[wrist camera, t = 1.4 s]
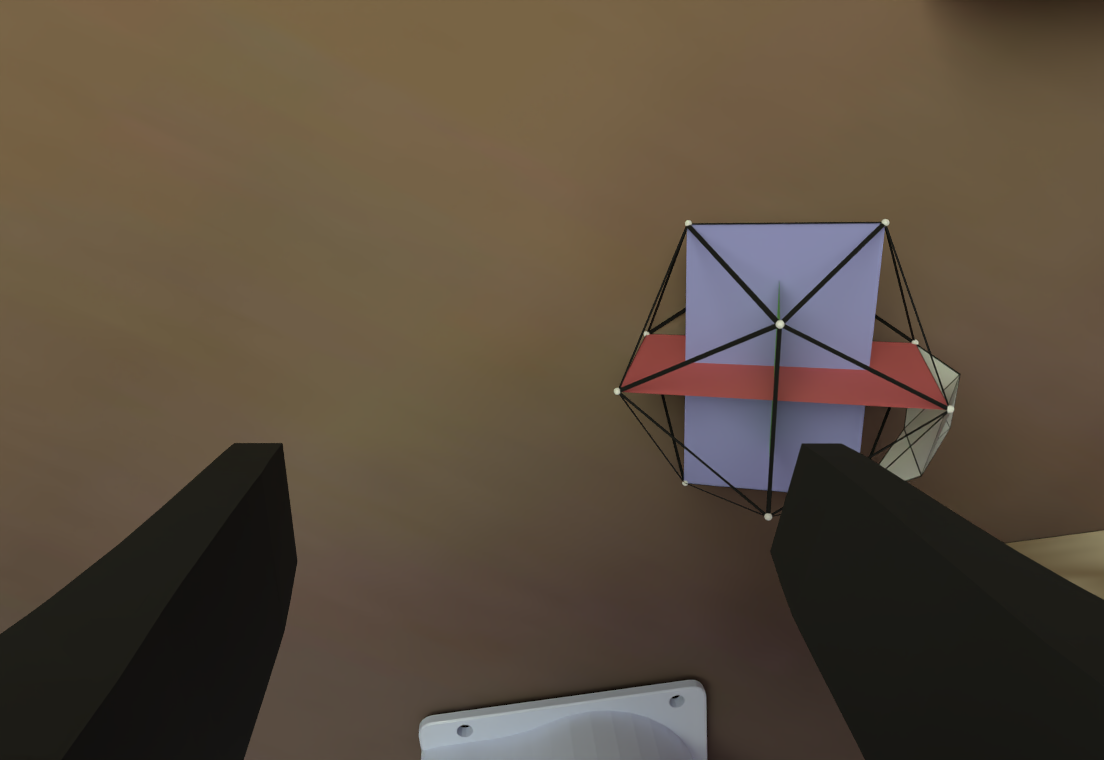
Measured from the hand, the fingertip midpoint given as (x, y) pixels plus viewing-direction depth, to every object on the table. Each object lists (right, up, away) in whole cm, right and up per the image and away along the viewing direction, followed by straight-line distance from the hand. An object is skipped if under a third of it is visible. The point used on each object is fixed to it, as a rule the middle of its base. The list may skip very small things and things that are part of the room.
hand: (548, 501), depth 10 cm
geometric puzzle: (+5, +3, +10) cm, 12 cm away
